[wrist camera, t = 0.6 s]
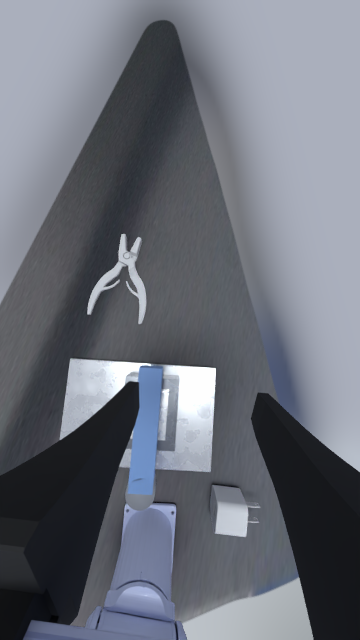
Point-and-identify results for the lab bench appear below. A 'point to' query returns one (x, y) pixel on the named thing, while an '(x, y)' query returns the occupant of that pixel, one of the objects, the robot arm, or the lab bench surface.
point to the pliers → (124, 261)
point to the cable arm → (145, 440)
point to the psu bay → (175, 408)
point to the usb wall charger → (230, 511)
